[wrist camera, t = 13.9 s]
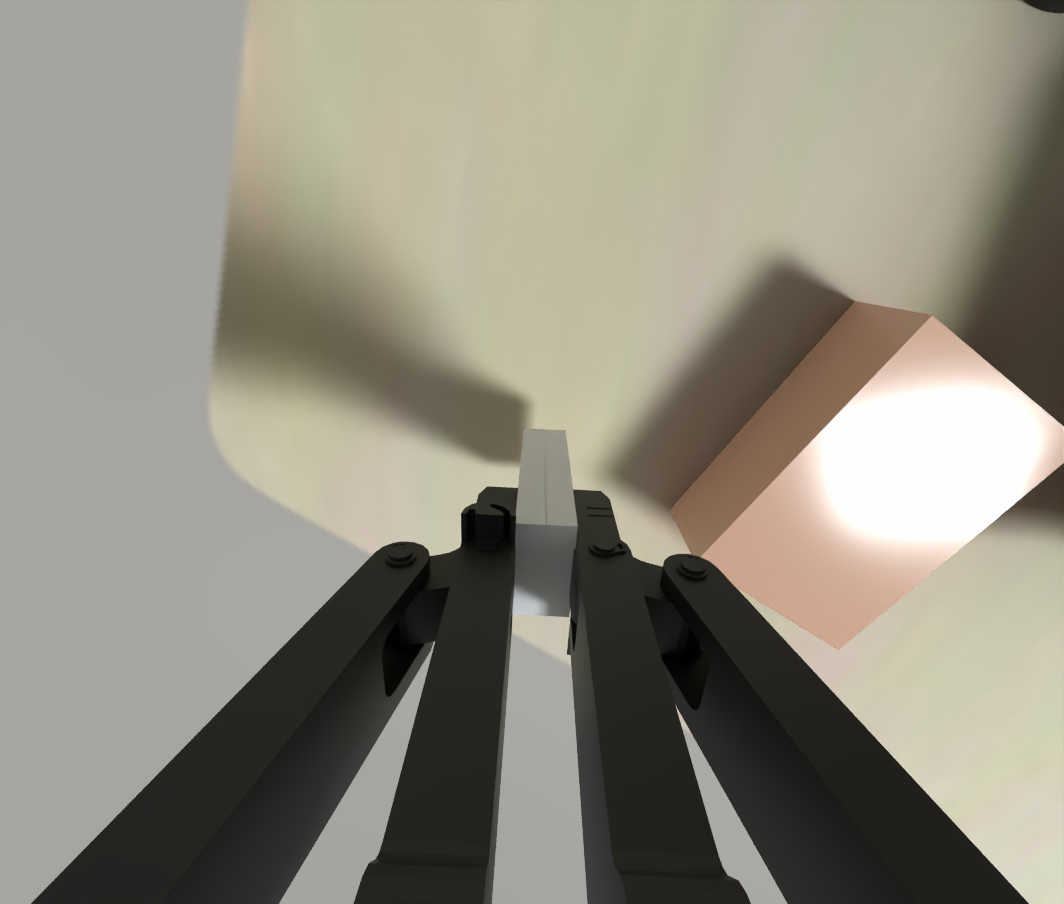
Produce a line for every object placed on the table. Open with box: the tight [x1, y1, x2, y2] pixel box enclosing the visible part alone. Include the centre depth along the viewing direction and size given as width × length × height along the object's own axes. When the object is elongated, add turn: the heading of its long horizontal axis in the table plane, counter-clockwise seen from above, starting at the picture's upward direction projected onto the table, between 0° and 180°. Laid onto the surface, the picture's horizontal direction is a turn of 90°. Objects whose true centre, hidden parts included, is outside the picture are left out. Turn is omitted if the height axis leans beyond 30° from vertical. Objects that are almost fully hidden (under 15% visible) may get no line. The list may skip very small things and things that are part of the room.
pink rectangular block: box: [670, 301, 1064, 650], centre depth 18 cm, size 7×10×4 cm
